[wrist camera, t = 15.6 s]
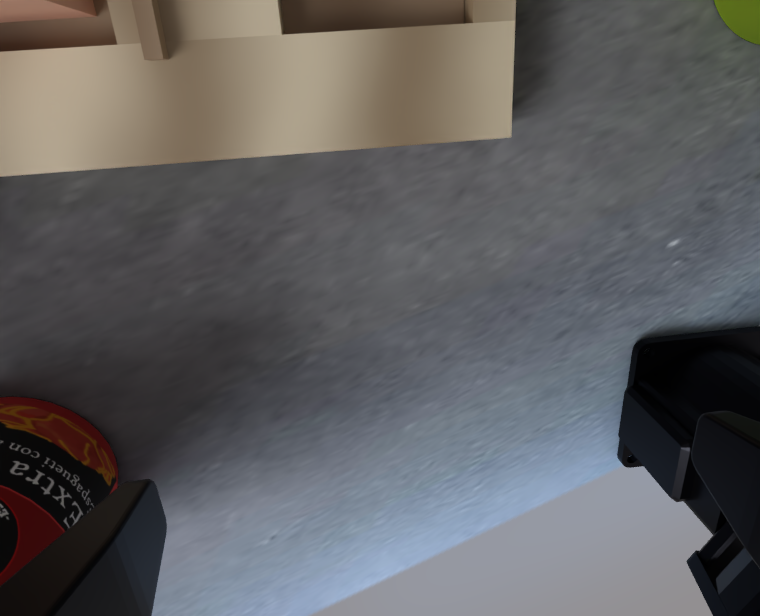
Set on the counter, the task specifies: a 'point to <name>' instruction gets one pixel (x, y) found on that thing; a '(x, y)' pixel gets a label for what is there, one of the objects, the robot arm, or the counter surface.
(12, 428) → the canned food
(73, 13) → the block
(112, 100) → the board
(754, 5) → the soap dispenser
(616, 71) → the counter surface
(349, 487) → the counter surface
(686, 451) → the robot arm
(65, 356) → the counter surface
